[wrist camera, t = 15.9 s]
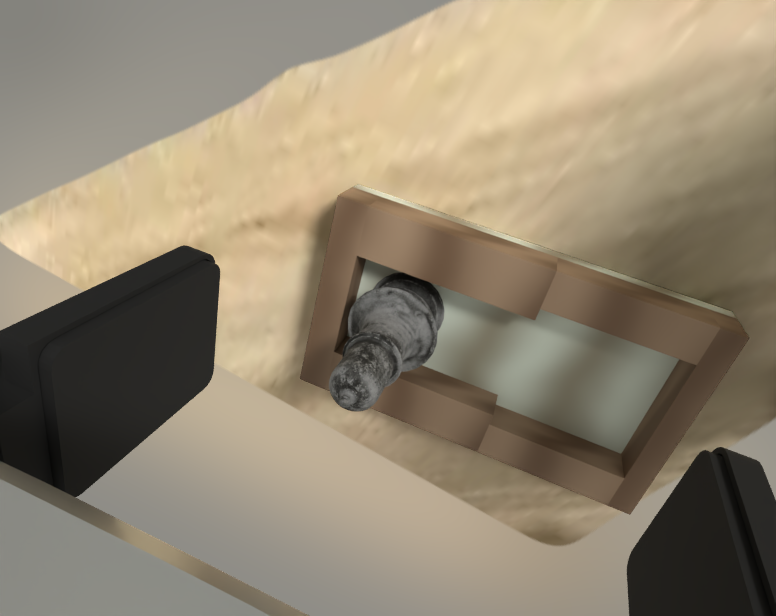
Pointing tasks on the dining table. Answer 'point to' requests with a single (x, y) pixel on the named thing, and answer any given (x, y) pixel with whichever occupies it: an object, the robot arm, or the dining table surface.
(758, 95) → the dining table surface
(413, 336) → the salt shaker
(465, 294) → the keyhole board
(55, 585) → the robot arm
